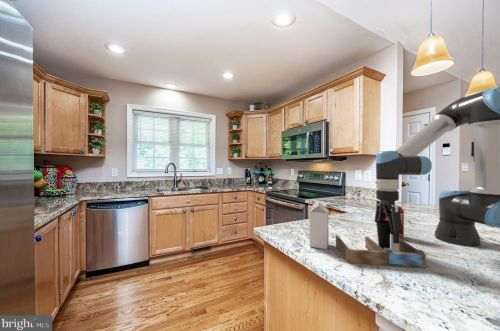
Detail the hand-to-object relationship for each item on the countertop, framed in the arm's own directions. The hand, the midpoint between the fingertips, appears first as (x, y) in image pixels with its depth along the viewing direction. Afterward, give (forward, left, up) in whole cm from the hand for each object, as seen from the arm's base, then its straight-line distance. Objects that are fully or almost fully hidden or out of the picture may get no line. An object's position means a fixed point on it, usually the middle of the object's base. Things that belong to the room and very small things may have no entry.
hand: (387, 245), depth 83 cm
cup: (0, 0, -3) cm, 3 cm away
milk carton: (+26, -4, -3) cm, 26 cm away
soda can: (-12, -21, -3) cm, 24 cm away
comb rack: (+6, +4, -3) cm, 8 cm away
